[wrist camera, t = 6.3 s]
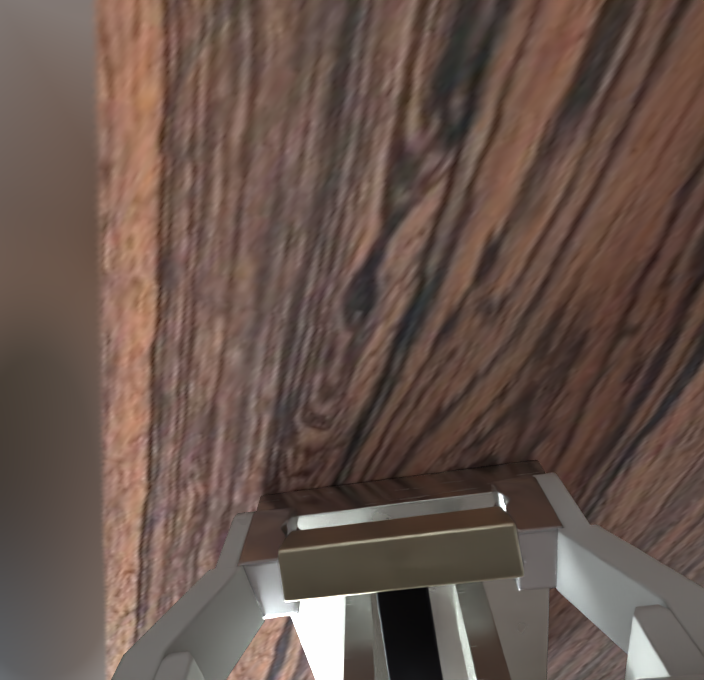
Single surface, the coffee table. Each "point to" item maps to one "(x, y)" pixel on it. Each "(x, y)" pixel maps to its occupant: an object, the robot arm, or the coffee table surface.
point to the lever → (402, 572)
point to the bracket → (446, 601)
